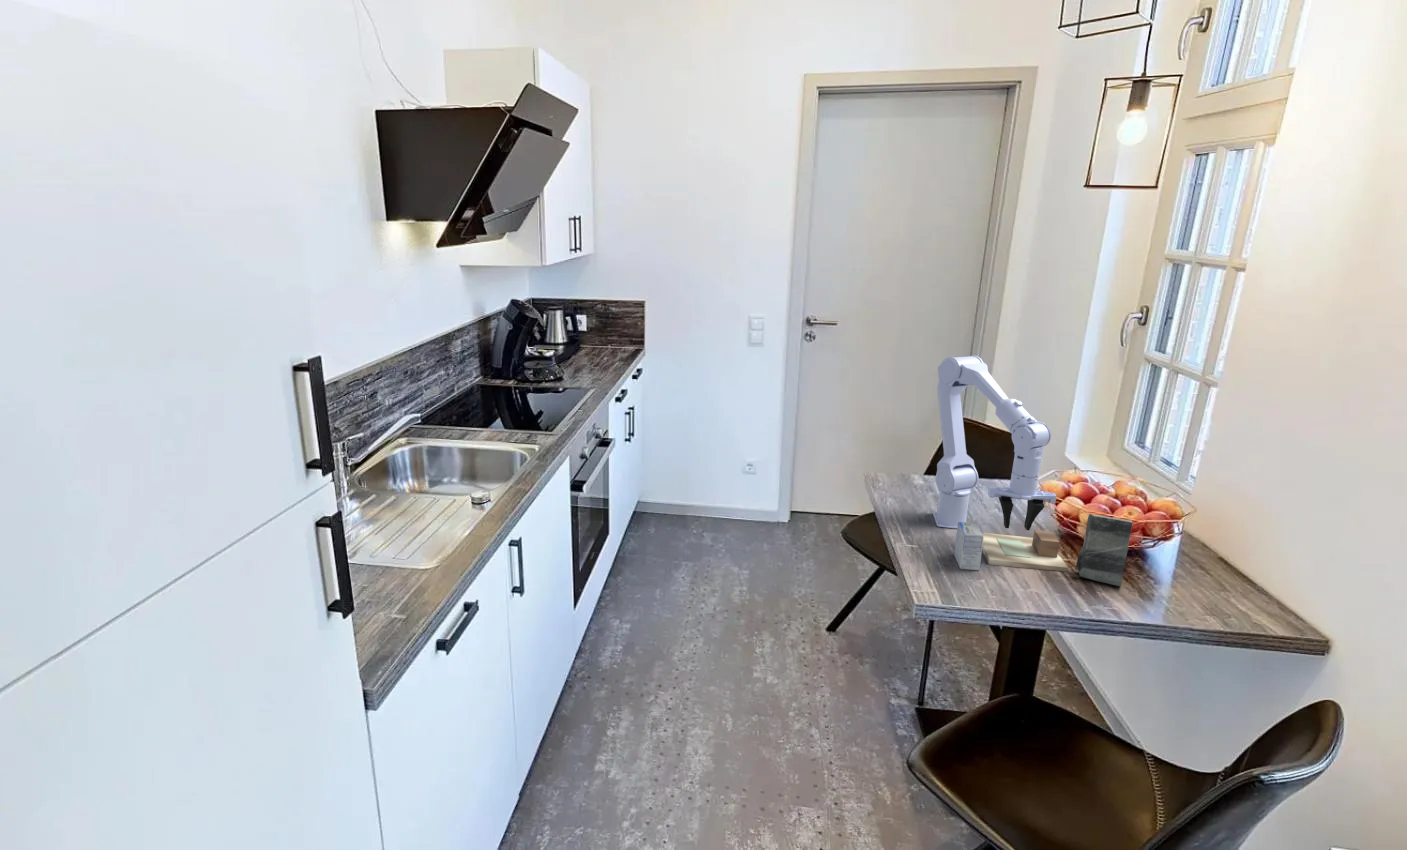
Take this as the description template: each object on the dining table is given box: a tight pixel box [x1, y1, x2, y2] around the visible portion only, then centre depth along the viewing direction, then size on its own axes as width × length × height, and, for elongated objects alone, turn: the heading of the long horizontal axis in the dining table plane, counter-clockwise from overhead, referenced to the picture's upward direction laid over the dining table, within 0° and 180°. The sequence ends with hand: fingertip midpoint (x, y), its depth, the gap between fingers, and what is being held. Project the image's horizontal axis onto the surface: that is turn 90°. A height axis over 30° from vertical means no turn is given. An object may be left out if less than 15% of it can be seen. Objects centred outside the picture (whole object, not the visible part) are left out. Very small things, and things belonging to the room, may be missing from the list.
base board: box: [981, 532, 1069, 573], centre depth 166 cm, size 16×17×2 cm
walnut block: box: [1032, 529, 1060, 558], centre depth 164 cm, size 6×4×4 cm, turn 169°
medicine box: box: [953, 521, 984, 571], centre depth 160 cm, size 8×4×9 cm, turn 170°
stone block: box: [1076, 513, 1133, 587], centre depth 153 cm, size 9×14×5 cm
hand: (1016, 527), depth 164 cm, fingers open, 4 cm apart
